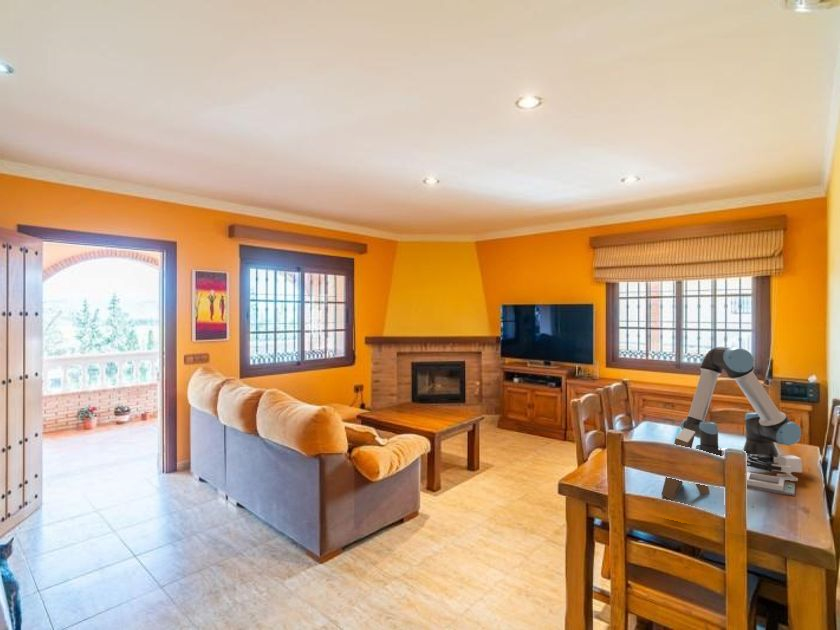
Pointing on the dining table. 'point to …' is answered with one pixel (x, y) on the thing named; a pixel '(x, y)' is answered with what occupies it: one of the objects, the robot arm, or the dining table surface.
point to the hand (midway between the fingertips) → (791, 466)
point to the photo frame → (674, 485)
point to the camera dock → (770, 483)
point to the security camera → (793, 463)
